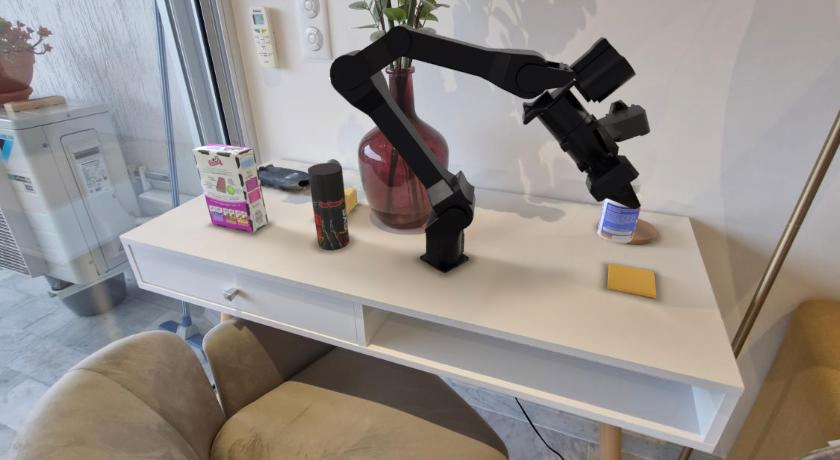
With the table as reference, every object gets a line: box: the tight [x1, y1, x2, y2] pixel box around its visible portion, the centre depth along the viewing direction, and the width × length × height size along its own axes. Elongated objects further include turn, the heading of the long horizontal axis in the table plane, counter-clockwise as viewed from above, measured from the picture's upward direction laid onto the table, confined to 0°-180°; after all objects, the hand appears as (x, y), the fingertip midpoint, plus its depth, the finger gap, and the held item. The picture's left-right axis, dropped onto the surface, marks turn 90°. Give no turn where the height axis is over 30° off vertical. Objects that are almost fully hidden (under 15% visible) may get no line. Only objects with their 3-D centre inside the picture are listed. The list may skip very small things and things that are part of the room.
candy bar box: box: [191, 142, 269, 234], centre depth 87 cm, size 11×5×16 cm, turn 68°
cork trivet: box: [627, 218, 658, 245], centre depth 86 cm, size 10×10×1 cm
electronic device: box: [257, 163, 310, 192], centre depth 109 cm, size 9×6×15 cm
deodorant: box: [307, 162, 350, 251], centre depth 80 cm, size 6×6×15 cm
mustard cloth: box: [606, 263, 657, 299], centre depth 71 cm, size 7×7×1 cm
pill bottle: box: [596, 177, 644, 245], centre depth 68 cm, size 5×5×10 cm
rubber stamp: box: [325, 158, 359, 216], centre depth 93 cm, size 10×6×12 cm, turn 167°
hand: (632, 199), depth 67 cm, fingers closed on pill bottle, 5 cm apart
